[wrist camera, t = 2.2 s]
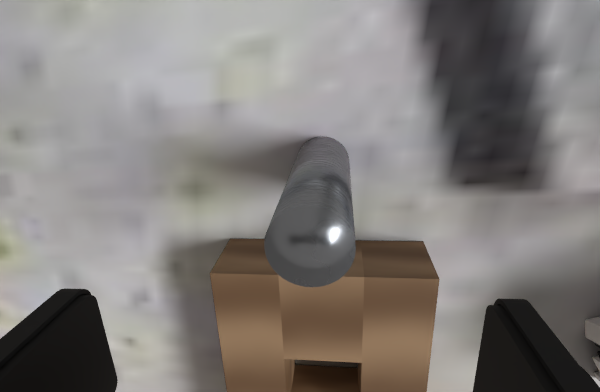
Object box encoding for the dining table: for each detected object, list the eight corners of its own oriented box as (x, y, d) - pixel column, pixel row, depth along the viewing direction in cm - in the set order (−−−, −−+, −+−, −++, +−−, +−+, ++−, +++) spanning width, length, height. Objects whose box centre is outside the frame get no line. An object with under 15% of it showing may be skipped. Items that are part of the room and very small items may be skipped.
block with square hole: (230, 238, 24) (209, 273, 20) (423, 241, 23) (439, 279, 19) (251, 417, 30) (238, 470, 26) (405, 428, 28) (415, 485, 25)
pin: (295, 137, 21) (261, 206, 12) (349, 136, 21) (356, 206, 12) (297, 187, 22) (267, 285, 13) (348, 187, 22) (355, 288, 13)
